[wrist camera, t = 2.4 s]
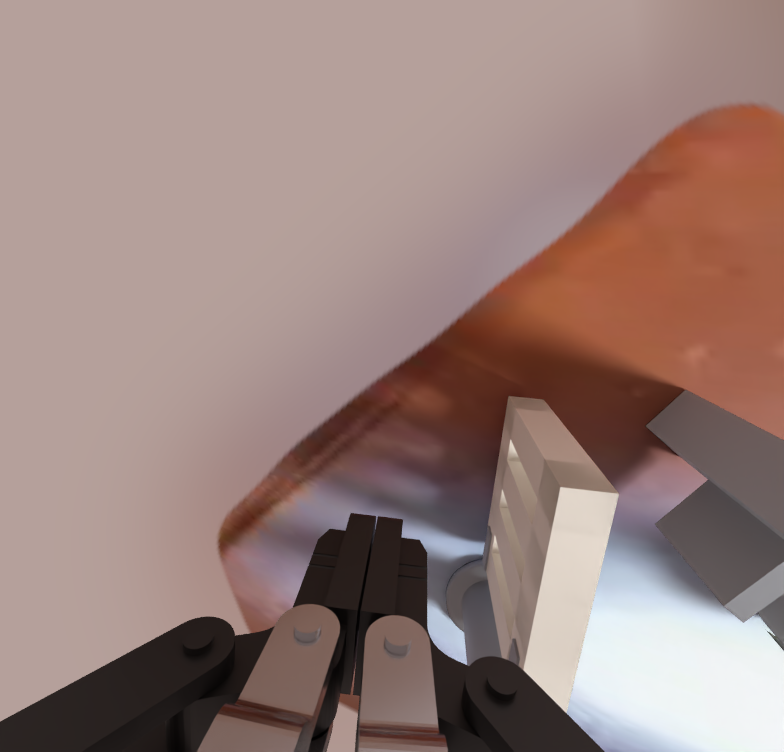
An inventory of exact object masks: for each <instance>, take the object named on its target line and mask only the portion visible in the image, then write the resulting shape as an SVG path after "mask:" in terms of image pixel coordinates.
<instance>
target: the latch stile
mask: <svg viewBox="0 0 784 752" xmlns="http://www.w3.org/2000/svg"><path fill="white" fill-rule="evenodd" d="M646 427H647V428H648V429H649V430H650V431H651V432H653V433H654V434H655V435H656V436H657V437H658V438H659V439H661V440H662V441H663V442H664V443H665V444H666V445H667V446H668V447H670V448H671V449H672V450H673V451H674V452H675V453H676V454H677V455H679V456H680V457H681V458H682V459H683V460H685V461H686V462H687V463H688V464H690V465H691V466H692V467H693V468H695V469H696V470H697V471H698V472H700V473H701V474H702V475H703V476H705V477H706V478H707V479H708V480H707V481H706V482H705V483H704V484H703V485H701V486H700V487H699V488H698V489H697V490H695V491H694V492H693V493H692V494H691V495H689V496H688V497H687V498H686V499H685V500H683V501H682V502H681V503H680V504H679V505H677V506H676V507H675V508H674V509H673V510H671V511H670V512H669V513H668V514H667V515H665V516H664V517H663V518H662V519H661V520H659V521H658V522H657V523H656V524H655V525H656V526H657V528H658V529H659V530H660V531H661V532H662V533H663V535H664V536H665V537H666V538H667V539H668V541H669V542H670V543H671V544H672V545H673V547H674V548H675V549H676V550H677V551H678V552H679V554H680V555H681V556H682V557H683V558H684V560H685V561H686V562H687V563H688V564H689V565H690V567H691V568H692V569H693V570H694V571H695V573H696V574H697V575H698V576H699V577H700V579H701V580H702V581H703V582H704V583H705V584H706V586H707V587H708V588H709V589H710V590H711V592H712V593H713V594H714V595H715V596H716V598H717V599H718V600H719V601H720V602H721V603H722V605H723V606H724V607H725V608H727V609H728V610H729V611H730V612H731V613H732V614H734V615H735V616H736V617H737V618H738V619H740V620H741V621H742V622H743V623H744V622H745V621H747V620H748V619H749V618H751V617H752V616H753V615H755V614H756V613H758V612H759V611H760V610H762V609H763V608H765V607H766V606H767V605H769V604H770V603H772V602H773V601H774V600H776V599H777V598H778V597H780V596H781V595H783V594H784V440H782V439H780V438H778V437H776V436H774V435H773V434H771V433H769V432H767V431H765V430H763V429H761V428H759V427H757V426H755V425H753V424H751V423H749V422H747V421H746V420H744V419H742V418H740V417H738V416H736V415H734V414H732V413H730V412H728V411H726V410H724V409H722V408H720V407H719V406H717V405H715V404H713V403H711V402H709V401H707V400H705V399H703V398H701V397H699V396H697V395H695V394H693V393H692V392H690V391H688V390H685V391H684V392H682V393H681V394H680V395H679V396H678V397H677V398H676V399H675V400H674V401H673V402H671V403H670V404H669V405H668V406H667V407H666V408H665V409H664V410H663V411H661V412H660V413H659V414H658V415H657V416H656V417H655V418H654V419H653V420H652V421H650V422H649V423H648V424H647V425H646Z"/></svg>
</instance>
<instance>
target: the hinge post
mask: <svg viewBox="0 0 784 752" xmlns="http://www.w3.org/2000/svg"><path fill="white" fill-rule="evenodd" d="M446 604H447V610H448V613H449V616H450V618H451V619H452V621H453V622H454V624H455V625H456V626H457V627H458V628H459V629H460V630H462V631H463V632H464V635H465V645H466V656H467V666H470V665H471V664H472V663H473V662H474V661H475V660H477V659H479V658H482V657H487V656H495V657H500V658H502V656H501V650H500V645H499V639H498V634H497V628H496V623H495V617H494V612H493V606H492V601H491V595H490V590H489V584H488V578H487V573H486V571H484V568H483V562H482V559H481V560H476V561H473V562H470V563H468V564H466V565H464V566H462V567H461V568H460V569H458V570H457V571H456V572H455V573H454V574H453V576H452V577H451V579H450V581H449V583H448V586H447V590H446Z"/></svg>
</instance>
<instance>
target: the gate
mask: <svg viewBox="0 0 784 752" xmlns="http://www.w3.org/2000/svg"><path fill="white" fill-rule="evenodd" d="M618 496H619V493H618V492H617V491H616V489H615V488H614V487H613V486H612V484H611V483H610V482H609V481H608V479H607V478H606V477H605V476H604V474H603V473H602V472H601V471H600V469H599V468H598V467H597V466H596V464H595V463H594V462H593V461H592V459H591V458H590V457H589V456H588V454H587V453H586V452H585V451H584V449H583V448H582V447H581V446H580V444H579V443H578V442H577V441H576V439H575V438H574V437H573V436H572V434H571V433H570V432H569V431H568V429H567V428H566V427H565V426H564V424H563V423H562V422H561V421H560V419H559V418H558V417H557V416H556V414H555V413H554V412H553V411H552V409H551V408H550V407H549V406H548V404H547V403H546V402H545V401H544V400H543V399H534V398H524V397H514V396H508V402H507V408H506V415H505V421H504V427H503V433H502V440H501V446H500V452H499V458H498V465H497V471H496V477H495V483H494V490H493V496H492V502H491V508H490V515H489V521H488V527H487V533H486V540H485V546H484V552H483V559H482V562H483V568H484V571H486V573H487V578H488V584H489V590H490V595H491V601H492V606H493V612H494V617H495V623H496V628H497V634H498V639H499V645H500V650H501V656H502V658H504V659H507V660H509V661H511V662H513V663H515V664H516V665H518V666H519V667H520V668H521V669H523V670H524V671H525V672H526V673H527V674H528V675H529V676H530V677H531V678H532V679H533V680H534V681H535V682H536V683H537V684H538V685H539V686H540V687H541V688H542V689H543V690H544V691H545V692H546V693H547V694H548V695H549V696H550V697H551V698H552V699H553V700H554V701H555V702H556V703H557V704H558V705H559V706H560V707H561V708H562V709H563V710H564V711H565V712H567V708H568V704H569V700H570V696H571V692H572V687H573V683H574V679H575V675H576V671H577V667H578V662H579V658H580V654H581V650H582V646H583V642H584V638H585V633H586V629H587V625H588V621H589V617H590V613H591V608H592V604H593V600H594V596H595V592H596V588H597V584H598V579H599V575H600V571H601V567H602V563H603V559H604V554H605V550H606V546H607V542H608V538H609V534H610V530H611V525H612V521H613V517H614V513H615V509H616V505H617V500H618Z"/></svg>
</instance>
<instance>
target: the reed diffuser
mask: <svg viewBox="0 0 784 752" xmlns="http://www.w3.org/2000/svg"><path fill="white" fill-rule="evenodd" d="M758 613H759V615H760V617H761V619H762V620H763V621H764V622H765V624H766V625H767V626H768V627H769V628H770V630H771V631H772V632H773V633H774V634H775V636H774V635H772V634H771V633H770V632H768V631H767V632H768V633H769V634H770V635H771V636H772V637H773V639H774V640H775V641H776V642H777V643H778V644H779V646H780V647H781V648H782V649H783V650H784V594H783V595H781V596H780V597H778V598H777V599H776V600H774V601H773V602H772V603H770V604H769V605H767V606H766V607H765V608H763V609H762V610H760V611H759V612H758Z"/></svg>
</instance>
